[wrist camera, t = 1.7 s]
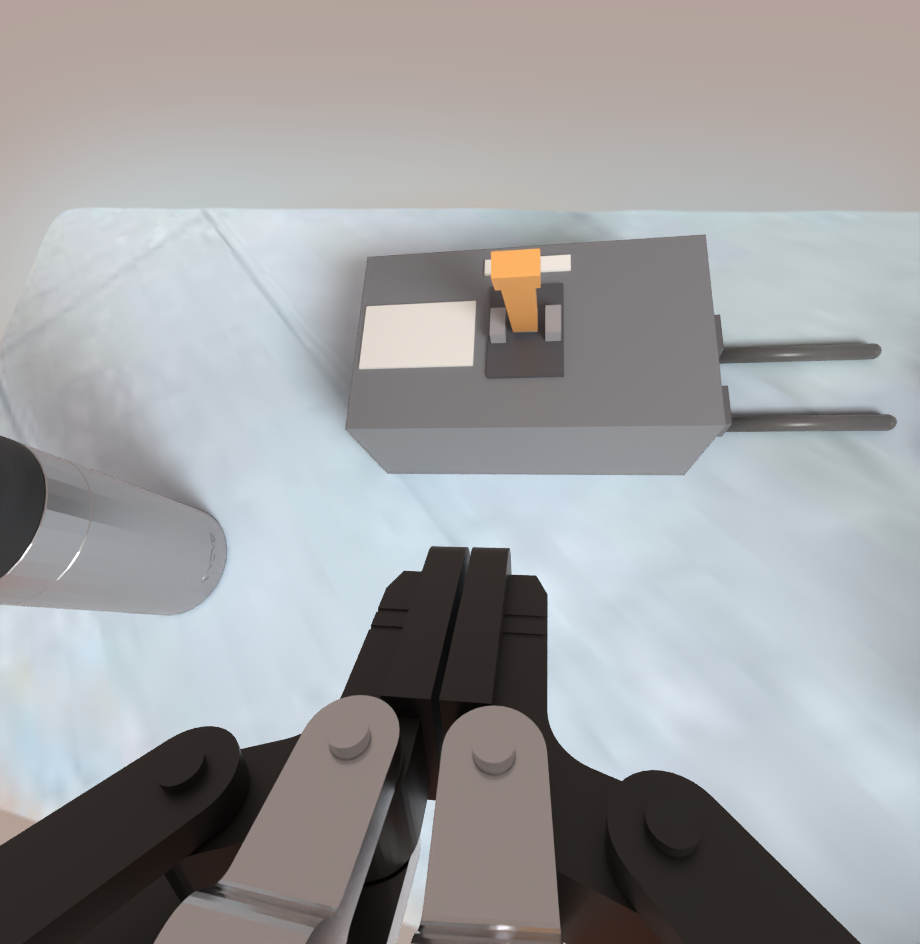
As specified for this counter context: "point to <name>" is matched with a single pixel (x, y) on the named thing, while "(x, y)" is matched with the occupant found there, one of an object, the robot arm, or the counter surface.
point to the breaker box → (557, 364)
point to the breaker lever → (518, 285)
